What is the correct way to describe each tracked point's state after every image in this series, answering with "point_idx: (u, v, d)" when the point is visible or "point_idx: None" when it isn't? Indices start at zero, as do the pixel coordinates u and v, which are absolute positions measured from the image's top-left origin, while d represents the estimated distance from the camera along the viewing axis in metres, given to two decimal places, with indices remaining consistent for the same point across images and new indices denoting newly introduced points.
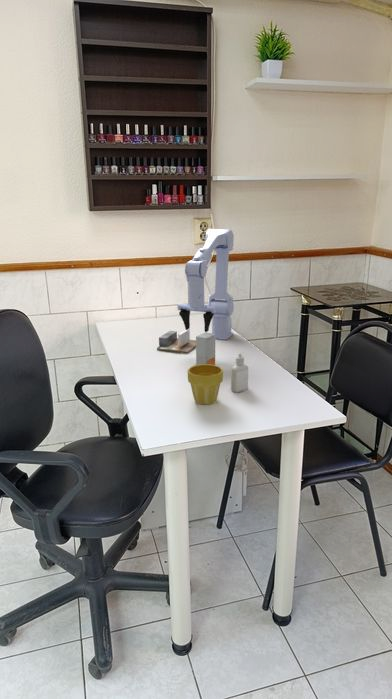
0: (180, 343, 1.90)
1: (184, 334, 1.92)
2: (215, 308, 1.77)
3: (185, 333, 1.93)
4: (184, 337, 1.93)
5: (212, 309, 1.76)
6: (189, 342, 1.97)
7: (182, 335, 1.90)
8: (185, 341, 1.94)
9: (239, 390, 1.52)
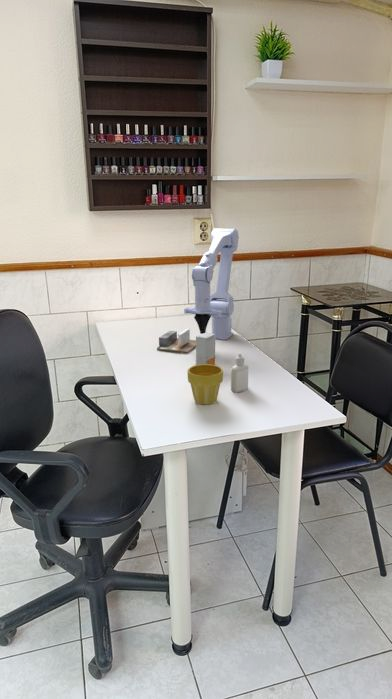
0: (180, 343, 1.90)
1: (184, 334, 1.92)
2: (220, 312, 1.84)
3: (185, 333, 1.93)
4: (184, 337, 1.93)
5: (218, 313, 1.83)
6: (189, 342, 1.97)
7: (182, 335, 1.90)
8: (185, 341, 1.94)
9: (239, 390, 1.52)
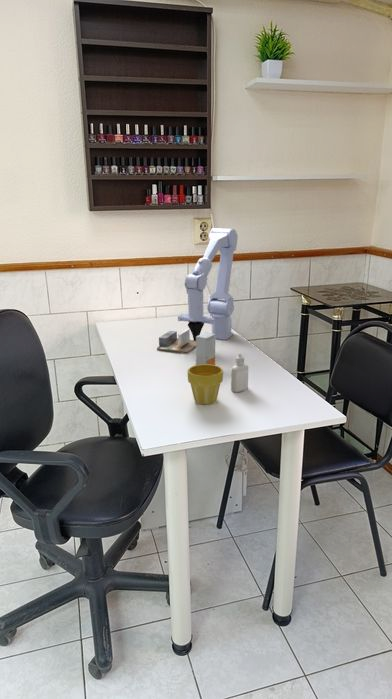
0: (180, 343, 1.90)
1: (184, 334, 1.92)
2: (214, 319, 1.86)
3: (185, 333, 1.93)
4: (184, 337, 1.93)
5: (211, 320, 1.85)
6: (189, 342, 1.97)
7: (182, 335, 1.90)
8: (185, 341, 1.94)
9: (239, 390, 1.52)
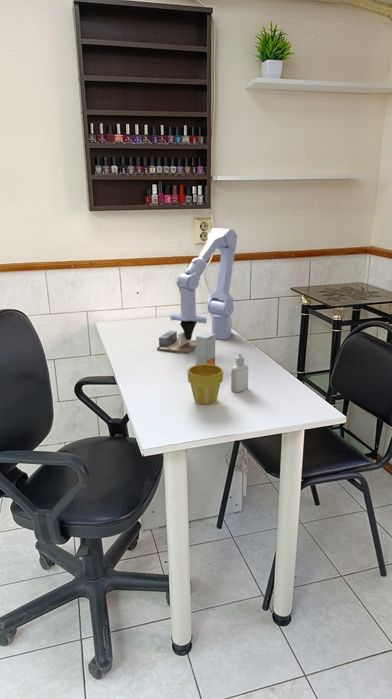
0: (180, 343, 1.90)
1: (184, 334, 1.92)
2: (206, 318, 1.87)
3: None
4: (184, 337, 1.93)
5: (203, 319, 1.87)
6: (189, 342, 1.97)
7: (182, 335, 1.90)
8: (185, 341, 1.94)
9: (239, 390, 1.52)
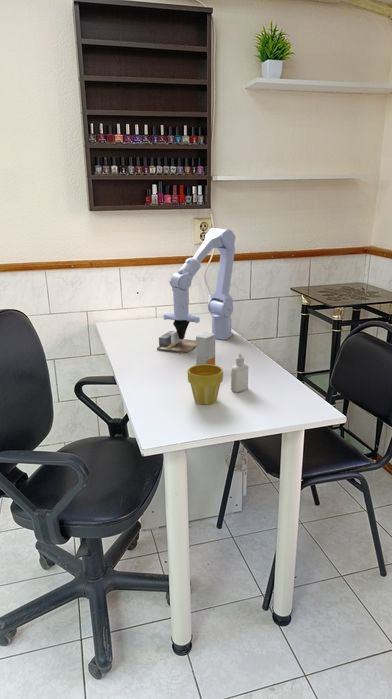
0: (173, 342, 1.91)
1: (177, 333, 1.93)
2: (198, 318, 1.89)
3: None
4: (177, 336, 1.94)
5: (195, 319, 1.88)
6: (189, 342, 1.97)
7: (175, 334, 1.91)
8: (178, 340, 1.95)
9: (239, 390, 1.52)
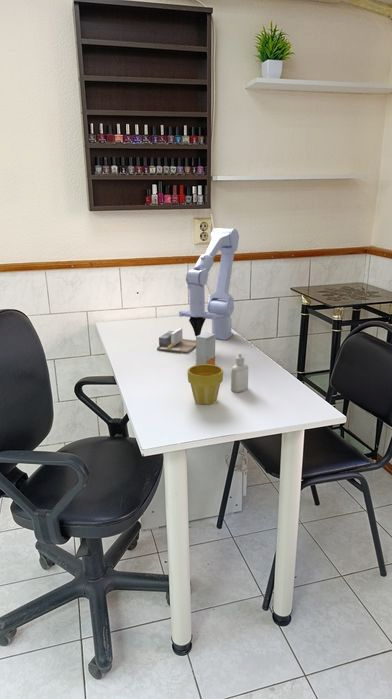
0: (173, 342, 1.91)
1: (177, 333, 1.93)
2: (215, 315, 1.85)
3: (178, 332, 1.94)
4: (177, 336, 1.94)
5: (212, 316, 1.85)
6: (189, 342, 1.97)
7: (175, 334, 1.91)
8: (178, 340, 1.95)
9: (239, 390, 1.52)
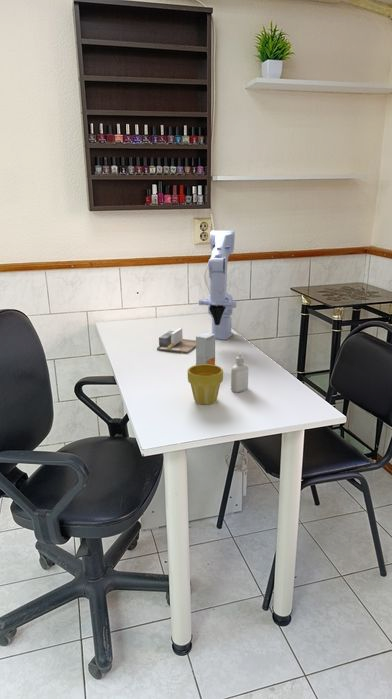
0: (173, 342, 1.91)
1: (177, 333, 1.93)
2: (235, 303, 1.85)
3: (178, 332, 1.94)
4: (177, 336, 1.94)
5: (233, 304, 1.84)
6: (189, 342, 1.97)
7: (175, 334, 1.91)
8: (178, 340, 1.95)
9: (239, 390, 1.52)
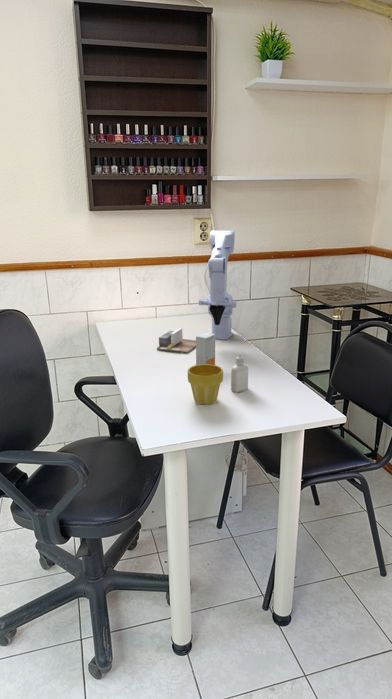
0: (173, 342, 1.91)
1: (177, 333, 1.93)
2: (235, 303, 1.85)
3: (178, 332, 1.94)
4: (177, 336, 1.94)
5: (233, 304, 1.84)
6: (189, 342, 1.97)
7: (175, 334, 1.91)
8: (178, 340, 1.95)
9: (239, 390, 1.52)
